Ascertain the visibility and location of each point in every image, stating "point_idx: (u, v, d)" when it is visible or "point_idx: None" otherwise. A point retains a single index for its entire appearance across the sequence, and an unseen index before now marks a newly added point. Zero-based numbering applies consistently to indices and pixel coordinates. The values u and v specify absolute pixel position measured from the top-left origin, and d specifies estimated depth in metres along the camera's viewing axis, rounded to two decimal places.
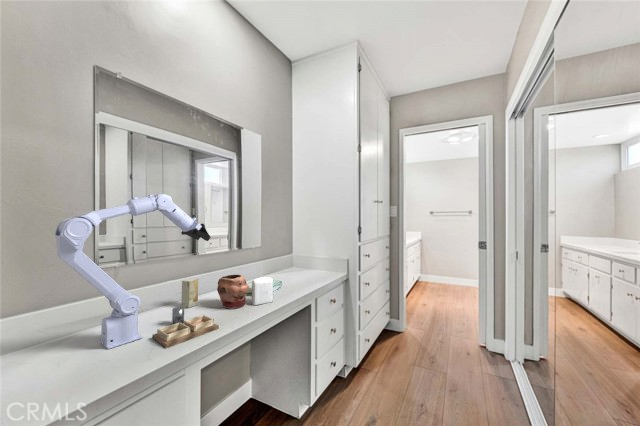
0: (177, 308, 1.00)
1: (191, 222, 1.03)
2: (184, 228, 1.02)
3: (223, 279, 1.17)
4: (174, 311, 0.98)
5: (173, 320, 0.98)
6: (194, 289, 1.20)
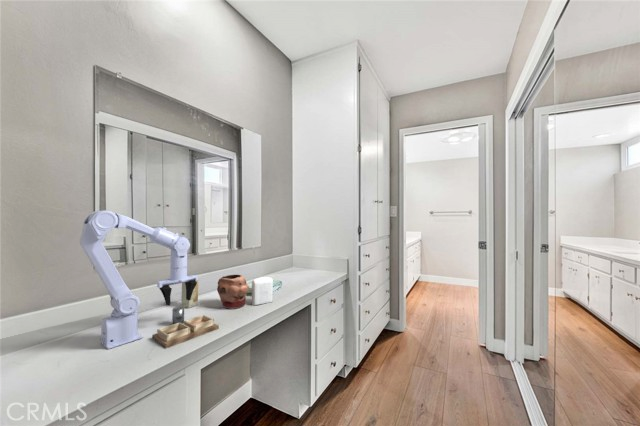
0: (177, 308, 1.00)
1: (172, 278, 0.98)
2: None
3: (223, 279, 1.17)
4: (174, 311, 0.98)
5: (173, 320, 0.98)
6: (194, 289, 1.20)
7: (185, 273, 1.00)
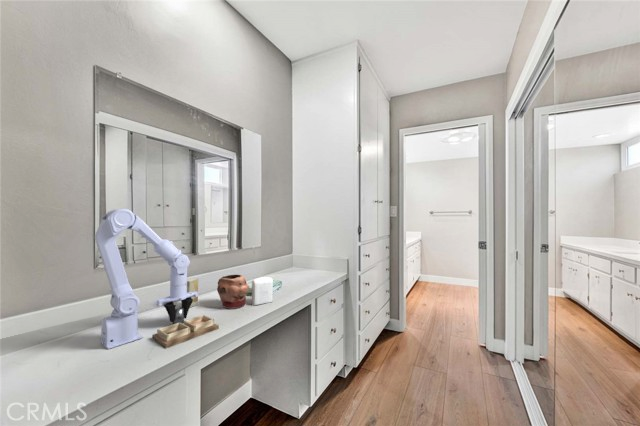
0: (177, 308, 1.00)
1: (172, 296, 0.98)
2: None
3: (223, 279, 1.17)
4: None
5: None
6: (194, 289, 1.20)
7: (185, 290, 1.00)
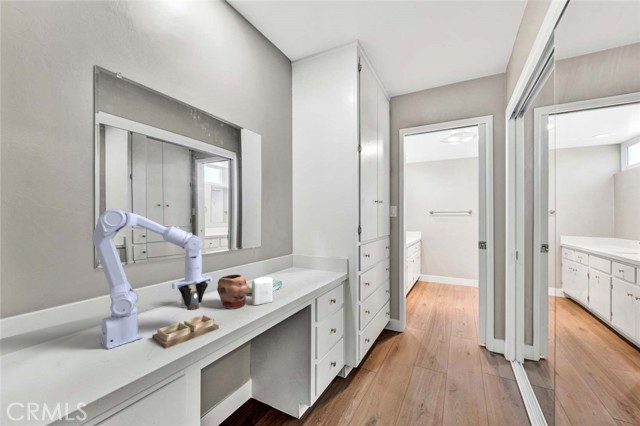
0: (192, 292, 0.98)
1: (187, 279, 0.95)
2: None
3: (223, 279, 1.17)
4: None
5: None
6: (194, 289, 1.20)
7: (200, 274, 0.97)
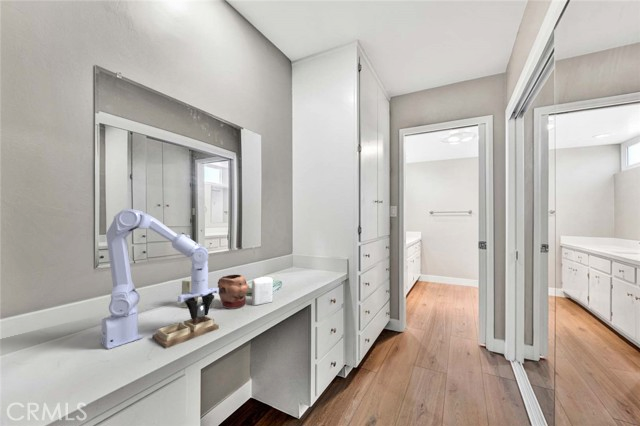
0: (198, 304, 0.96)
1: (193, 292, 0.93)
2: None
3: (223, 279, 1.17)
4: None
5: None
6: None
7: (206, 286, 0.95)
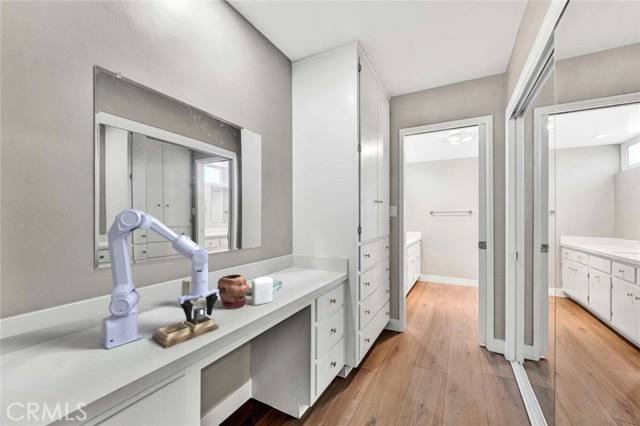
0: (198, 308, 0.96)
1: (193, 293, 0.93)
2: None
3: (223, 279, 1.17)
4: (195, 312, 0.94)
5: (194, 321, 0.94)
6: None
7: (206, 287, 0.95)
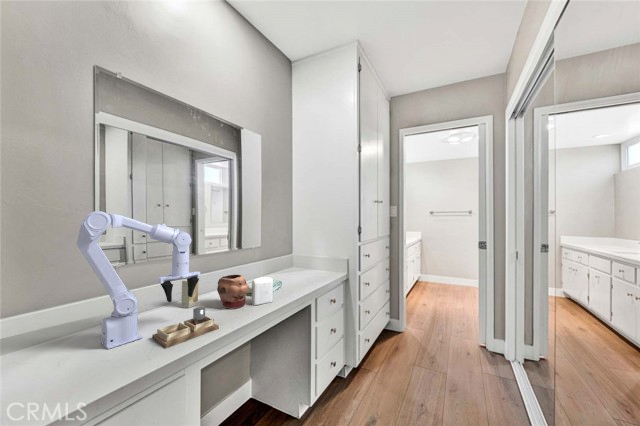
0: (198, 308, 0.96)
1: (174, 274, 0.96)
2: None
3: (223, 279, 1.17)
4: (195, 312, 0.94)
5: (194, 321, 0.94)
6: (194, 289, 1.20)
7: (187, 269, 0.98)
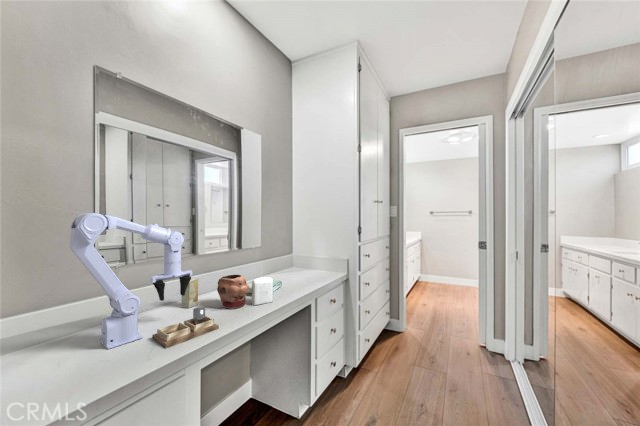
0: (198, 308, 0.96)
1: (166, 273, 0.97)
2: None
3: (223, 279, 1.17)
4: (195, 312, 0.94)
5: (194, 321, 0.94)
6: (194, 289, 1.20)
7: (179, 268, 0.99)
